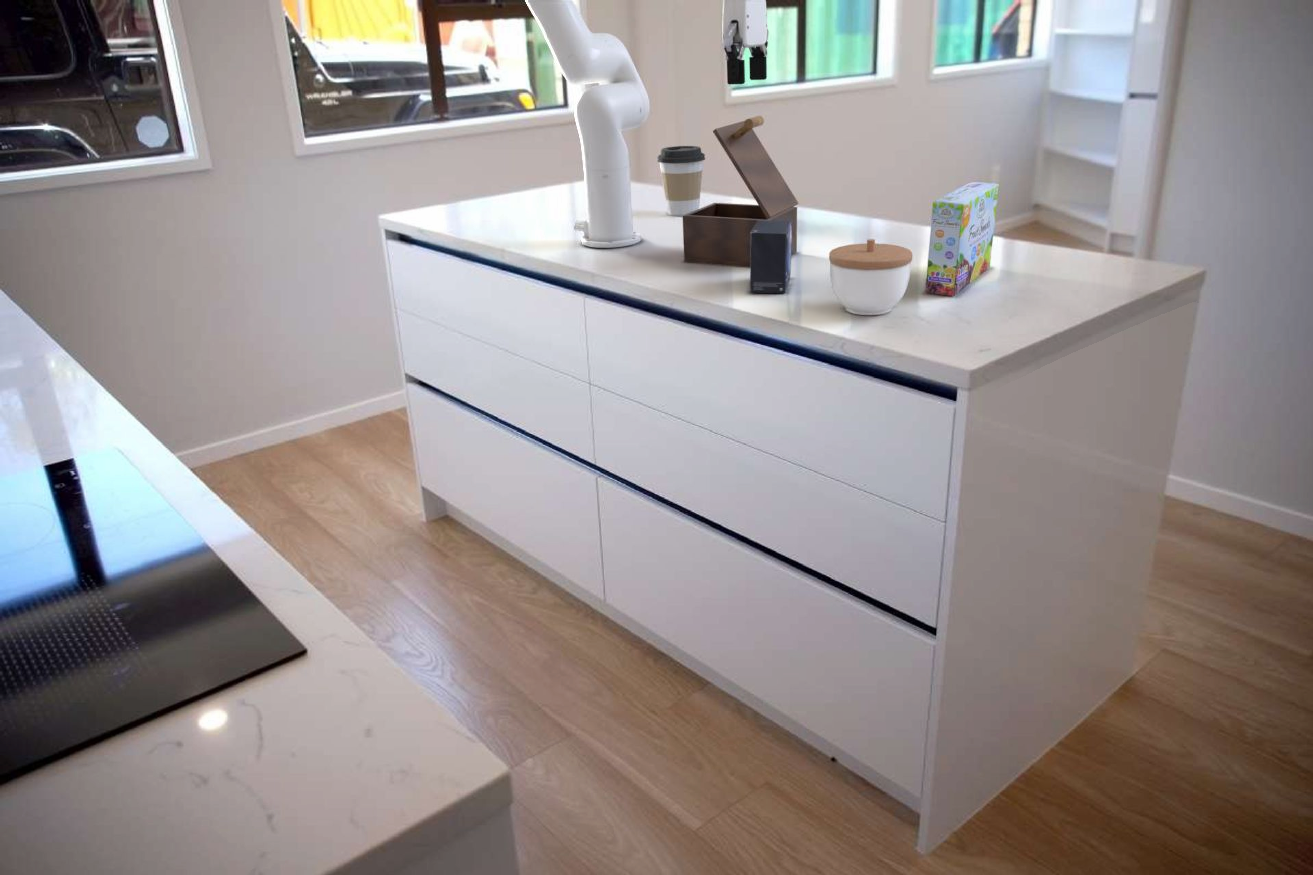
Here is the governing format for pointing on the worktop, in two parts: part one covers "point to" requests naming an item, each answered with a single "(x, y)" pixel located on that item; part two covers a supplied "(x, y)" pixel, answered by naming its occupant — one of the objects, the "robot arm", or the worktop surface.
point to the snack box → (961, 237)
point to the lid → (756, 166)
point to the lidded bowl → (869, 276)
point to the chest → (727, 233)
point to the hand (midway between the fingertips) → (747, 82)
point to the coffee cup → (681, 178)
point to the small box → (770, 256)
